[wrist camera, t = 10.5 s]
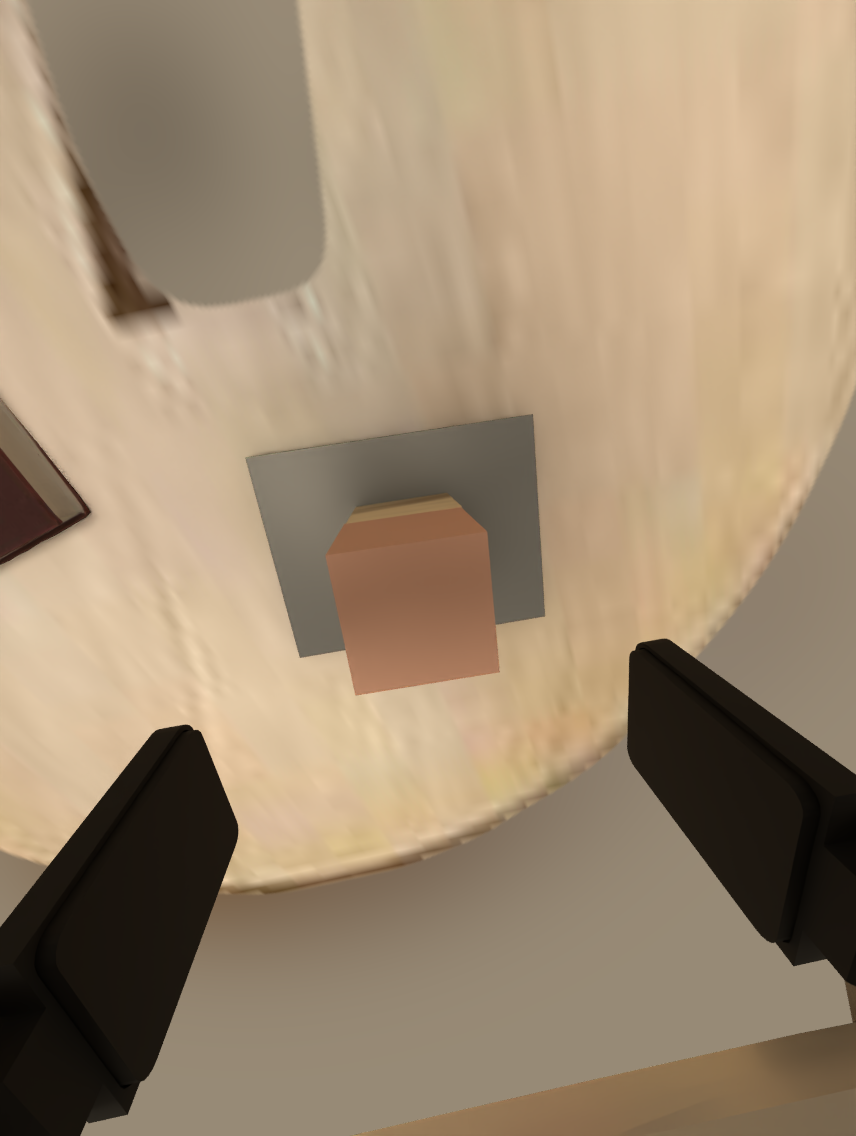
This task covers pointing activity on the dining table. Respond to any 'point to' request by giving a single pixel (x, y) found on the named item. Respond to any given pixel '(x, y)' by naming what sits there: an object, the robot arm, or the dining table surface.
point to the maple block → (403, 507)
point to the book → (30, 491)
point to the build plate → (395, 472)
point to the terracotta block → (414, 599)
